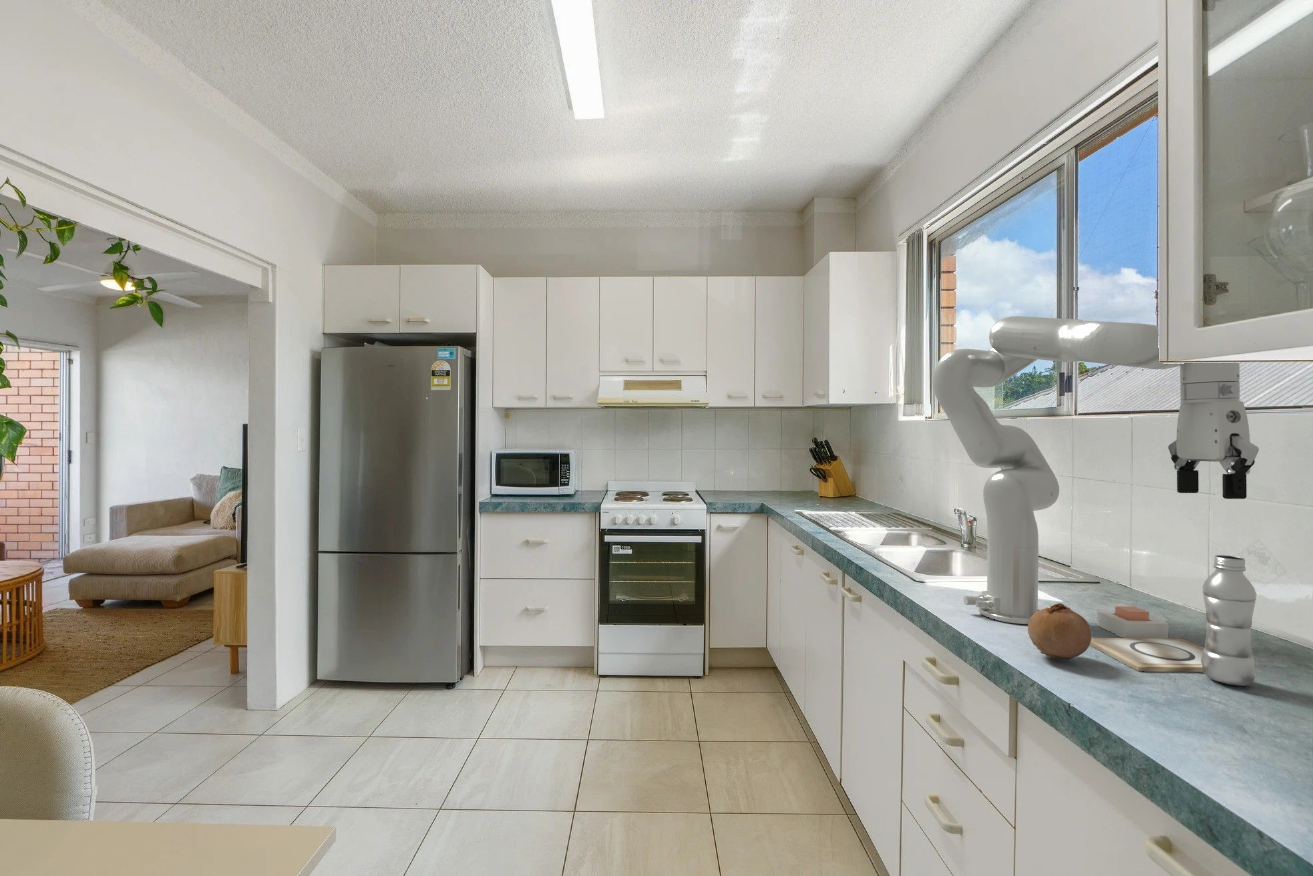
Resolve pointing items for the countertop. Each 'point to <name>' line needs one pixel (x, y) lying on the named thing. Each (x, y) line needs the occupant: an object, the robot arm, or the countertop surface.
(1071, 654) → the onion
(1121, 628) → the button housing
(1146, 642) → the board
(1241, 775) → the countertop surface
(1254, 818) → the countertop surface
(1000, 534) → the robot arm
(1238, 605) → the plastic bottle
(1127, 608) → the button
